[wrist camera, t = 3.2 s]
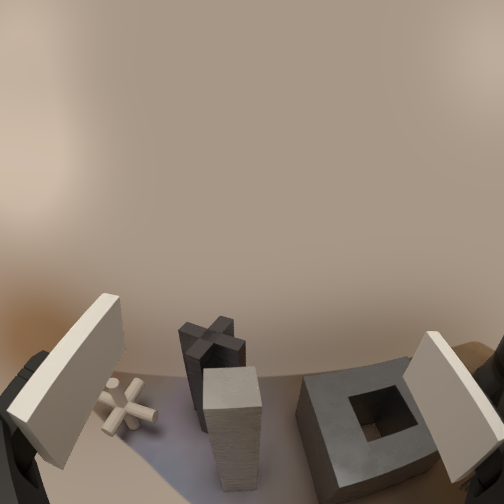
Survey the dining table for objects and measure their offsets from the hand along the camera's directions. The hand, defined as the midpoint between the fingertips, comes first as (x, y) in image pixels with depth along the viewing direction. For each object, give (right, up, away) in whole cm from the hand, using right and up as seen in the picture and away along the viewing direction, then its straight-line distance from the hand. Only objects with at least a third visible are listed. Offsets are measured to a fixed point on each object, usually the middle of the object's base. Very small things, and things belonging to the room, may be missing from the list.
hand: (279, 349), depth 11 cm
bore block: (+14, -23, +19) cm, 33 cm away
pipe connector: (-18, -22, +22) cm, 36 cm away
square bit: (-3, -24, +16) cm, 29 cm away
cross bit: (-6, -20, +26) cm, 33 cm away
